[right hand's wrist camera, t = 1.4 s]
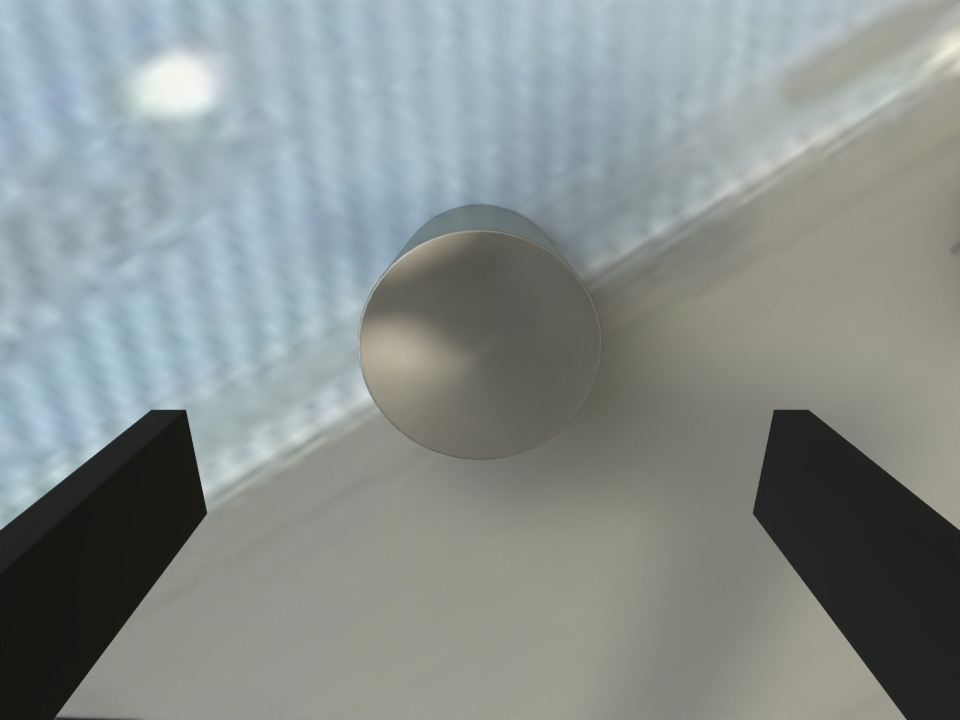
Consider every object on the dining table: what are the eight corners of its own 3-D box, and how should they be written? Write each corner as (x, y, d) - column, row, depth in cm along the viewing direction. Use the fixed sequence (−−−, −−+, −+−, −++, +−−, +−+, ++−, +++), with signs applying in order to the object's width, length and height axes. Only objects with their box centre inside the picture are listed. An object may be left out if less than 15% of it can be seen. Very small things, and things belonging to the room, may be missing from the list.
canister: (546, 185, 27) (579, 200, 18) (578, 351, 30) (619, 433, 21) (372, 228, 28) (323, 263, 19) (420, 387, 31) (397, 480, 22)
